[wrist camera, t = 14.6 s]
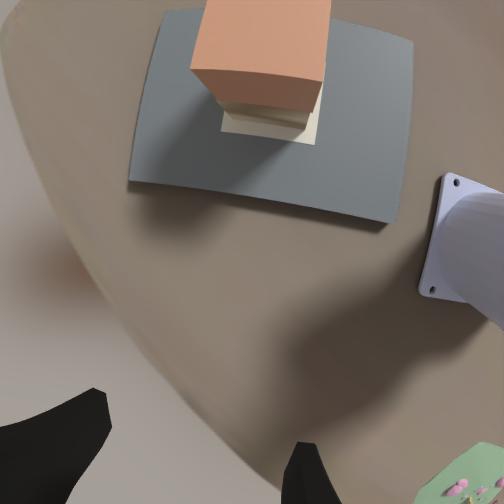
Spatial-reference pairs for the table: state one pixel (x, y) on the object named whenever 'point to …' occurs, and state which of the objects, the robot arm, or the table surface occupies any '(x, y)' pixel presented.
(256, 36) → the terracotta block
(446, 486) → the miniature garden diorama
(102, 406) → the robot arm
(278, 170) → the baseplate
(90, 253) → the table surface
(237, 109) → the birch block
